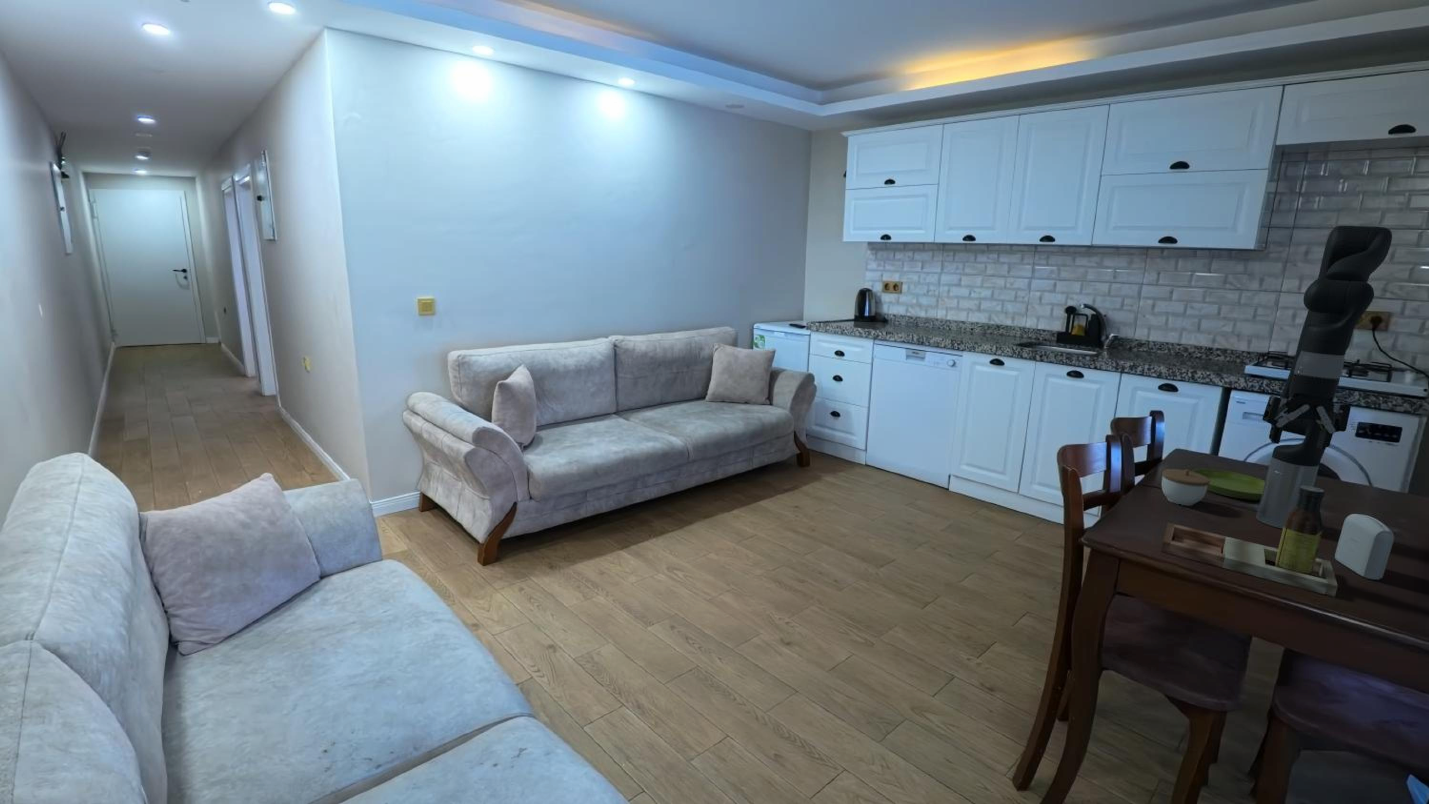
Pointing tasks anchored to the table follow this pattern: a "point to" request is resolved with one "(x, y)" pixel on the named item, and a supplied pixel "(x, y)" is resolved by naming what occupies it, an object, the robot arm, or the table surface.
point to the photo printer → (1364, 545)
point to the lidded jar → (1184, 486)
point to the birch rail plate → (1244, 558)
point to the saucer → (1233, 484)
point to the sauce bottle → (1301, 533)
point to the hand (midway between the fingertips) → (1297, 445)
